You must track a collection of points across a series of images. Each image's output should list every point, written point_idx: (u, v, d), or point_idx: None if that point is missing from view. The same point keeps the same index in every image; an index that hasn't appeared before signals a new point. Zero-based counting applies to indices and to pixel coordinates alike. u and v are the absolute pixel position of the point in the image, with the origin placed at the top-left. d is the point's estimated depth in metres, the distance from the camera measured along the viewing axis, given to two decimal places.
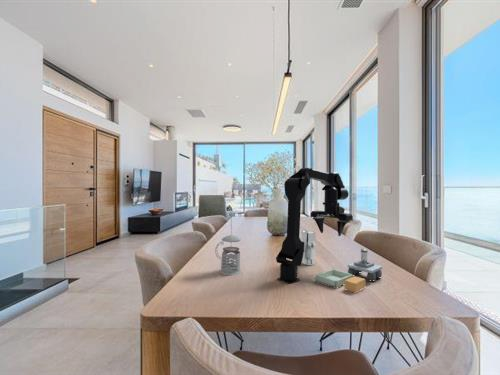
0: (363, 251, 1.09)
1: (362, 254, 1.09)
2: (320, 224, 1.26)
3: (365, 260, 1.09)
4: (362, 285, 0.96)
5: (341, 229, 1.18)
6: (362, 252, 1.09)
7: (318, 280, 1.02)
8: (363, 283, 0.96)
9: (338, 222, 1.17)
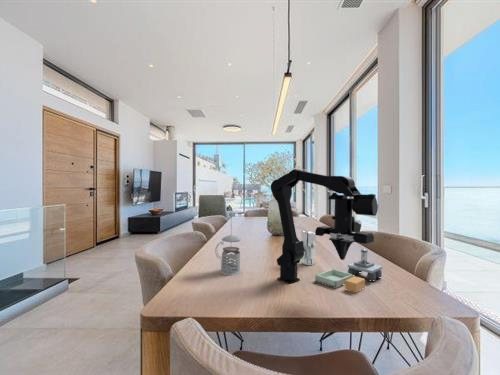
0: (363, 251, 1.09)
1: (362, 254, 1.09)
2: None
3: (365, 260, 1.09)
4: (362, 285, 0.96)
5: (345, 251, 0.90)
6: (362, 252, 1.09)
7: (318, 280, 1.02)
8: (363, 283, 0.96)
9: (341, 242, 0.88)
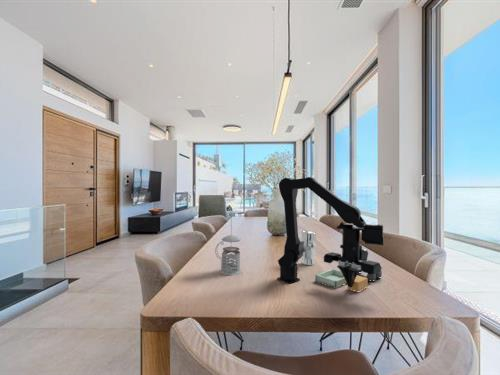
0: None
1: None
2: (347, 275, 0.94)
3: None
4: (364, 284, 0.96)
5: (353, 279, 0.93)
6: None
7: (318, 280, 1.02)
8: (365, 282, 0.97)
9: (349, 271, 0.91)
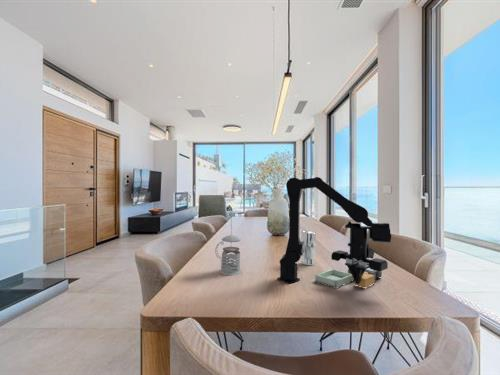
0: None
1: None
2: (355, 272, 0.97)
3: None
4: (371, 281, 1.00)
5: (360, 276, 0.96)
6: None
7: (318, 280, 1.02)
8: (372, 279, 1.00)
9: (357, 268, 0.95)
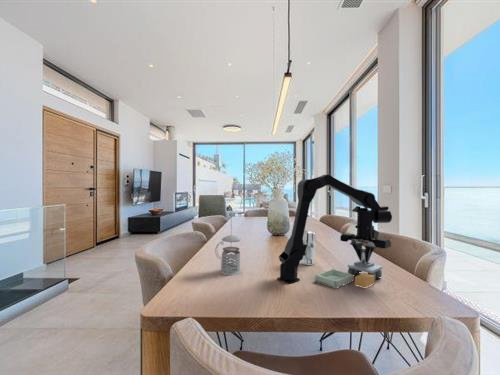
0: (363, 251, 1.09)
1: (362, 254, 1.09)
2: (359, 251, 1.10)
3: (365, 260, 1.09)
4: (371, 281, 1.00)
5: (369, 255, 1.08)
6: (362, 252, 1.09)
7: (318, 280, 1.02)
8: (372, 279, 1.00)
9: (366, 247, 1.06)
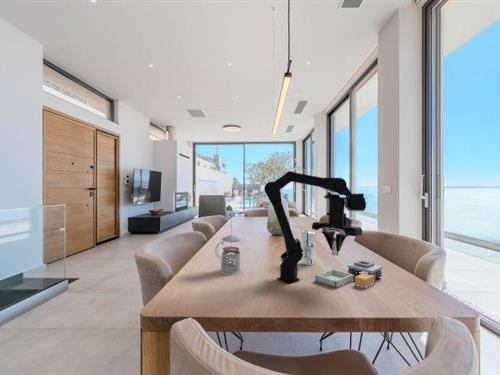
0: (334, 240, 1.03)
1: (333, 243, 1.03)
2: (330, 239, 1.05)
3: (336, 249, 1.03)
4: (371, 281, 1.00)
5: (340, 244, 1.02)
6: (333, 241, 1.03)
7: (318, 280, 1.02)
8: (372, 279, 1.00)
9: (337, 236, 1.00)
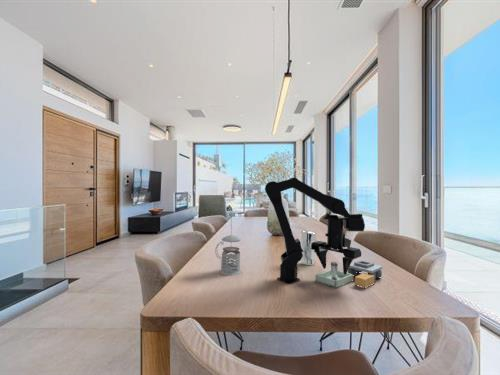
0: (333, 265, 1.03)
1: (332, 268, 1.03)
2: (322, 258, 1.07)
3: (335, 274, 1.03)
4: (371, 281, 1.00)
5: (347, 267, 0.99)
6: (332, 266, 1.03)
7: (318, 280, 1.02)
8: (372, 279, 1.00)
9: (344, 259, 0.98)
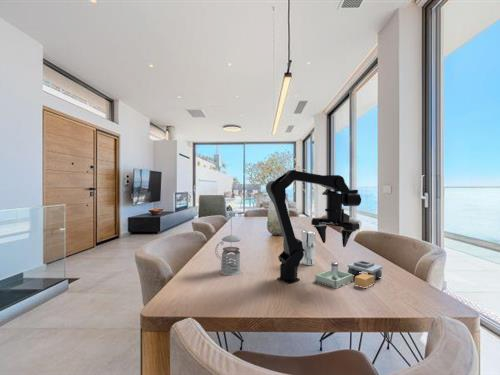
0: (333, 265, 1.03)
1: (332, 268, 1.03)
2: (322, 233, 1.12)
3: (335, 274, 1.03)
4: (371, 281, 1.00)
5: (346, 239, 1.04)
6: (332, 266, 1.03)
7: (318, 280, 1.02)
8: (372, 279, 1.00)
9: (343, 231, 1.02)
